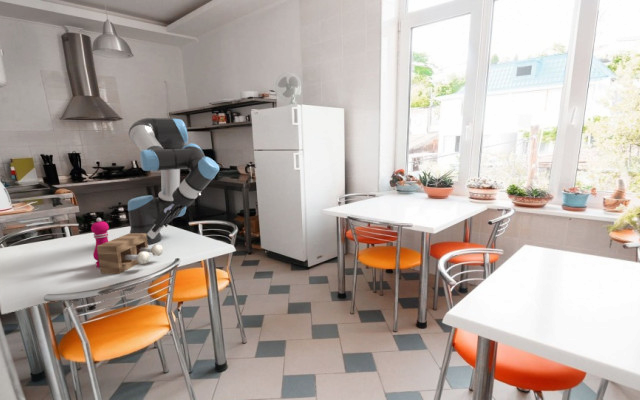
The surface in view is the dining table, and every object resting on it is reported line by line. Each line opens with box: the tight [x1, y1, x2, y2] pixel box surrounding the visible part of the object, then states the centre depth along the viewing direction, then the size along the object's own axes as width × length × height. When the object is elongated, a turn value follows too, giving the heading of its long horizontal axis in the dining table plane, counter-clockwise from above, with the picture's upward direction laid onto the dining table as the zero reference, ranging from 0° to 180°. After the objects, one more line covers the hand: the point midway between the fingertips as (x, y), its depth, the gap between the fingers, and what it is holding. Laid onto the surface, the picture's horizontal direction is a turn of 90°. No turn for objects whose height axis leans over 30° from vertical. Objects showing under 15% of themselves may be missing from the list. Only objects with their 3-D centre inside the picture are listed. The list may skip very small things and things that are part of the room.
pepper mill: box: [90, 217, 110, 268], centre depth 133 cm, size 7×7×20 cm
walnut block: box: [97, 232, 150, 275], centre depth 133 cm, size 18×8×11 cm, turn 174°
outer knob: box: [125, 252, 150, 264], centre depth 127 cm, size 5×8×5 cm, turn 84°
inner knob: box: [140, 244, 164, 257], centre depth 136 cm, size 5×8×5 cm, turn 84°
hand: (150, 236), depth 125 cm, fingers closed
